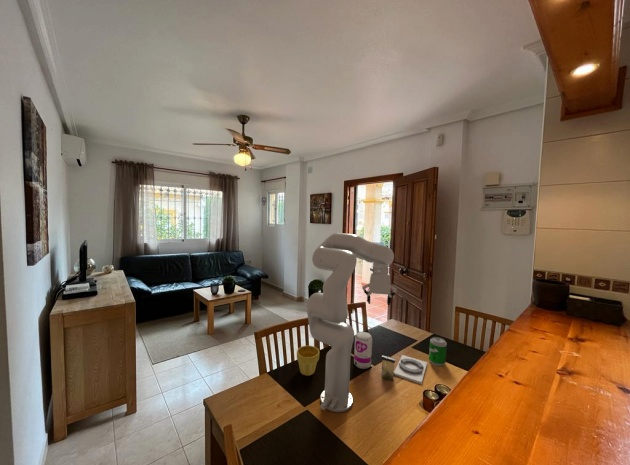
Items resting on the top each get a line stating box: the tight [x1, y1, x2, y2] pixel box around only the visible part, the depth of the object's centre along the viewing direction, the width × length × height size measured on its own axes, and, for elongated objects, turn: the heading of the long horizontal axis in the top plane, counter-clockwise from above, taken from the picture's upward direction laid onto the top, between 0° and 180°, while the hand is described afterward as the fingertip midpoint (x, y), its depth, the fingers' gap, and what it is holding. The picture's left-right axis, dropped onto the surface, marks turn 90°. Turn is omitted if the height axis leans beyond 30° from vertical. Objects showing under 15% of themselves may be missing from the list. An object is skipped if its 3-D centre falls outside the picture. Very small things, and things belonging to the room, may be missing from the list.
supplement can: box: [353, 331, 373, 370], centre depth 127 cm, size 8×8×15 cm
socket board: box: [394, 354, 428, 385], centre depth 125 cm, size 18×12×2 cm, turn 150°
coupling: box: [380, 355, 396, 382], centre depth 118 cm, size 5×6×9 cm
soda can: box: [428, 336, 448, 367], centre depth 131 cm, size 8×8×12 cm
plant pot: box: [296, 345, 320, 376], centre depth 121 cm, size 10×10×10 cm
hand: (378, 303), depth 134 cm, fingers open, 9 cm apart
